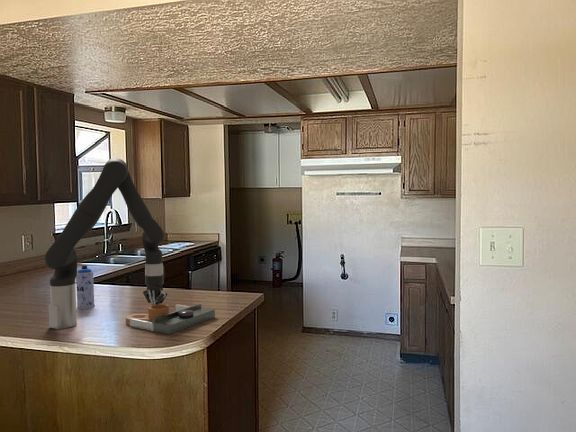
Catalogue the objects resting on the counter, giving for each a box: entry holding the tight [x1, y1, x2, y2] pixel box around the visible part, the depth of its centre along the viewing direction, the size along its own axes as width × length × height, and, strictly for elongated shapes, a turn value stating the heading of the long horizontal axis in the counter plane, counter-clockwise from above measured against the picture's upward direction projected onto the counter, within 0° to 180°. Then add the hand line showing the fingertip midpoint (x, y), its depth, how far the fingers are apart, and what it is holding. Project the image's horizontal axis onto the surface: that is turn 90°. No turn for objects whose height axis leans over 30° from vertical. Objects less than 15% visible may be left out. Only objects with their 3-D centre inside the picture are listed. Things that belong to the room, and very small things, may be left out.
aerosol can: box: [75, 265, 96, 310], centre depth 208 cm, size 8×8×20 cm
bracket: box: [125, 303, 170, 326], centre depth 181 cm, size 18×8×7 cm, turn 86°
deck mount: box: [129, 303, 216, 336], centre depth 182 cm, size 26×22×5 cm
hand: (155, 313), depth 188 cm, fingers closed
